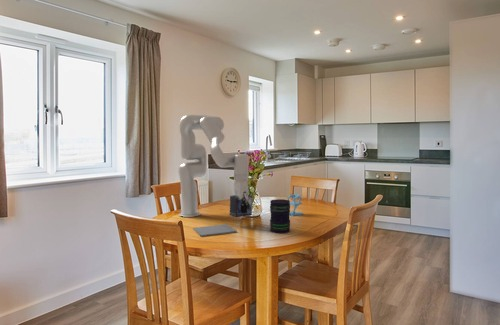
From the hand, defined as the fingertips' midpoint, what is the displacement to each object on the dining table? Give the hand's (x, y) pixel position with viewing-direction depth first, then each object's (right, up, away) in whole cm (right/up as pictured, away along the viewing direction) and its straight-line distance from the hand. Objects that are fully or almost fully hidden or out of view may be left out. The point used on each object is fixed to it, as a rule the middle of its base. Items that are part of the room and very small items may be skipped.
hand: (240, 210), depth 190 cm
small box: (0, -3, 0) cm, 3 cm away
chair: (+31, -6, +25) cm, 40 cm away
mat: (-13, -9, -10) cm, 19 cm away
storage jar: (+20, -9, -11) cm, 24 cm away
